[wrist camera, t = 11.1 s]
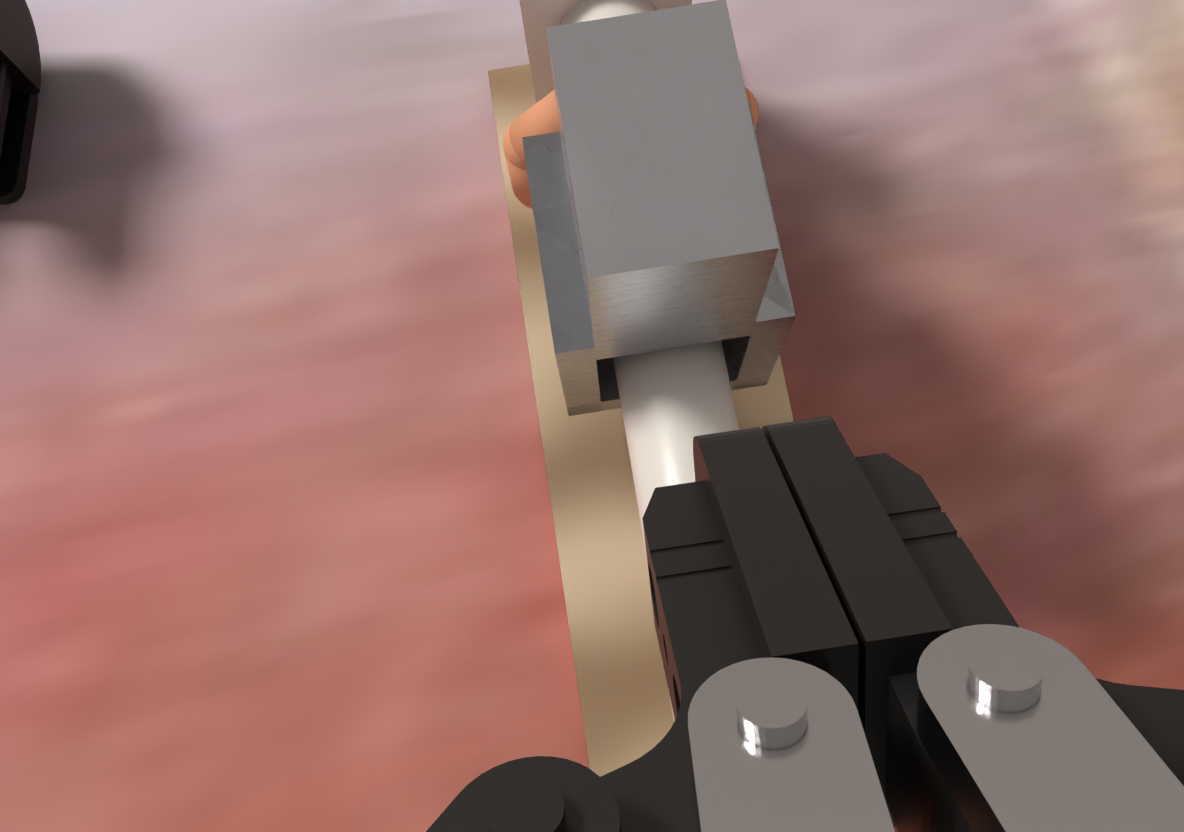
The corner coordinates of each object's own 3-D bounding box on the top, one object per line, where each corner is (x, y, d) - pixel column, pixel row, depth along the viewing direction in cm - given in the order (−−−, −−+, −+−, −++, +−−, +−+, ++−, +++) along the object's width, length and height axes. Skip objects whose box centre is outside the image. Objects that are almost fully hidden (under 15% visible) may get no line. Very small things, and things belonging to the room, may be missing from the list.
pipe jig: (851, 981, 31) (924, 1073, 23) (679, 1008, 31) (694, 1109, 23) (672, 67, 39) (682, -92, 31) (534, 88, 39) (509, -65, 31)
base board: (907, 992, 31) (914, 999, 30) (630, 1036, 31) (630, 1045, 30) (711, 48, 39) (712, 35, 38) (490, 83, 39) (488, 70, 38)
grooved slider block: (766, 384, 33) (826, 240, 22) (568, 416, 32) (539, 285, 22) (729, 203, 34) (770, -8, 24) (540, 233, 34) (501, 34, 24)
